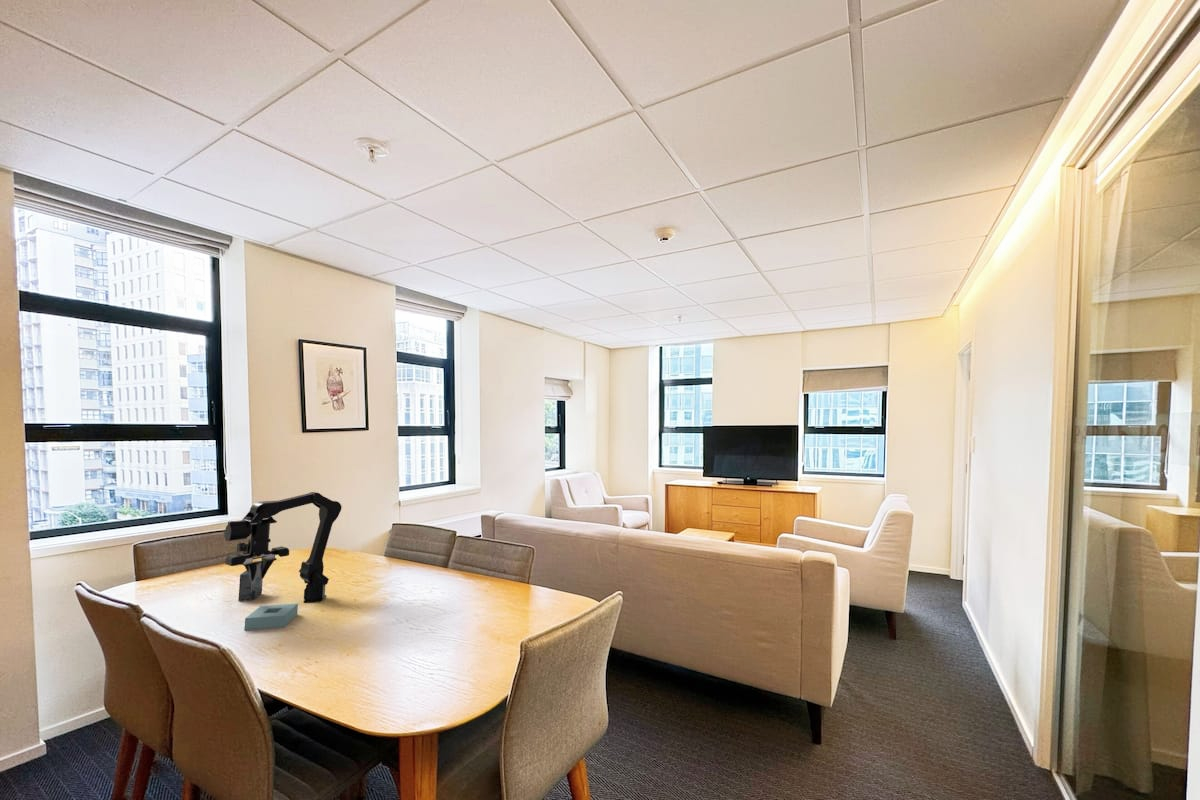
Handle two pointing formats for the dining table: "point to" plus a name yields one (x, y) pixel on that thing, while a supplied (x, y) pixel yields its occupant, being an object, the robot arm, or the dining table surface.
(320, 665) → the dining table surface
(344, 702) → the dining table surface
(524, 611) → the dining table surface
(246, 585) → the box
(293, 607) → the hole block
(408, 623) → the dining table surface
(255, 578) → the peg
